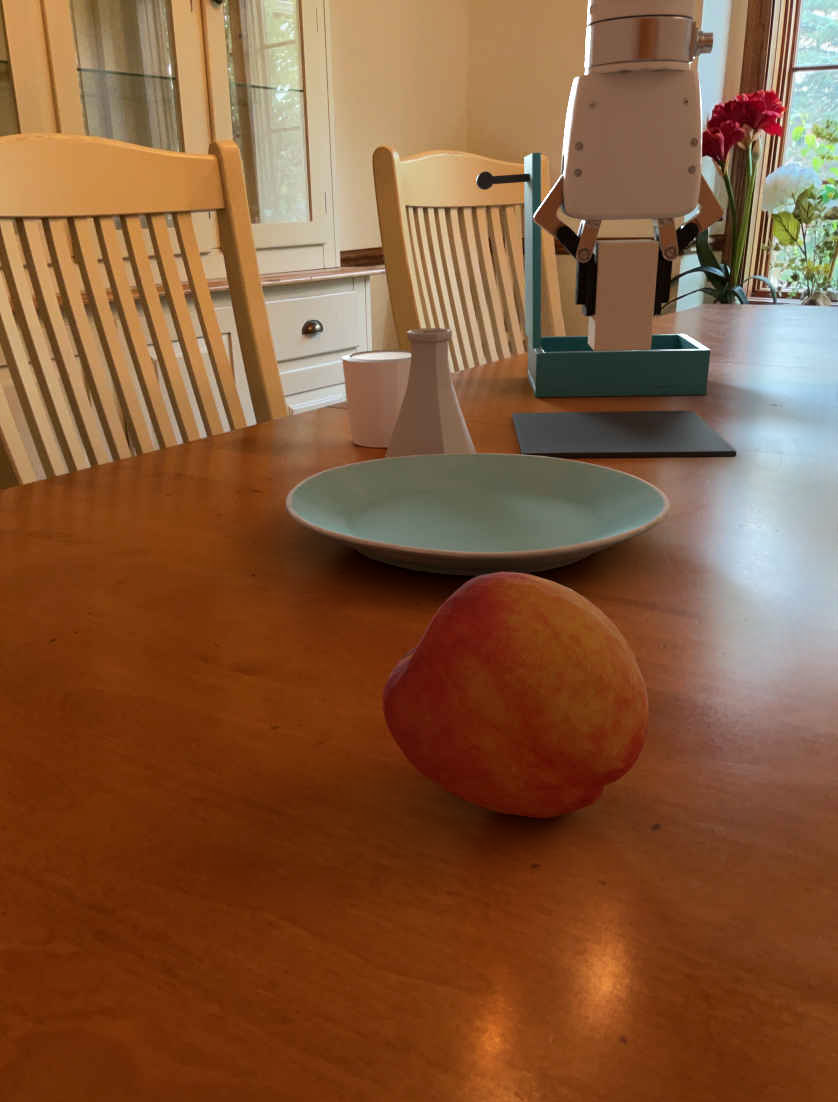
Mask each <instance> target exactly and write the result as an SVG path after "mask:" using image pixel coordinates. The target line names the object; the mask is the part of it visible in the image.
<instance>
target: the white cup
mask: <svg viewBox="0 0 838 1102" xmlns="http://www.w3.org/2000/svg"><path fill="white" fill-rule="evenodd" d="M341 360H342V370H343V378H344V386H345V392H346V393H345V394H346V402H347V410H348V418H349V425H350V433H351V441H352V443H353V444H354V445H357V446H360V447H367V448H379V449H380V448H381V449H382V448H388V446H389V443H390V440H391V437H392V434H393V431H394V428H395V425H396V422H397V419H398V416H399V412H400V409H401V406H402V402H403V399H404V396H405V393H406V389H407V385H408V378H409V372H410V365H411V350H406V349H405V350H404V349H376V350H375V349H374V350H364V351H359V352H354V353H349V354H345V355H342V356H341Z"/></svg>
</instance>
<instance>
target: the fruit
mask: <svg viewBox="0 0 838 1102" xmlns="http://www.w3.org/2000/svg"><path fill="white" fill-rule="evenodd" d="M381 697H382V712H383V715H384V719H385V723H386V726H387V729H388V730H389V732H390V734H391V736H392V739H393V740H394V742H395V744H396V745H397V746H398V748H399V749H400V751H401V752H402V754H403V755H404V757H405V758H406V759H407V761H408V762H409V764H411V765H412V766H413V767H414V768H415V769H416V770H417V771H418V772H419V773H420V774H422V775H423V776H424V777H426V778H427V779H428V780H430V781H431V782H433V783H434V784H436V785H437V786H438V787H441V789H444V790H445V791H447V792H448V793H449V794H451V795H453V796H455V797H457V798H459V799H461V800H463V801H466V802H468V803H470V804H471V805H474V806H477V807H480V808H483V809H485V810H488V811H492V812H495V813H498V814H504V815H505V814H506V815H513V816H519V817H528V818H535V819H547V818H548V819H549V818H556V817H560V816H563V815H566V814H569V813H573V812H576V811H579V810H581V809H584V808H587V807H589V806H592V805H593V804H594V803H595V802H597V800H598V799H599V798H600V797H601V796H602V795H603V792H604V787H605V786H606V785H609V784H612V783H615V782H617V781H618V780H619V779H621V778H622V777H624V776H625V775H626V774H627V773H628V772H629V771H631V770H632V768H633V767H634V765H635V764H636V762H637V761H638V759H639V757H640V755H641V753H642V751H643V748H644V745H645V742H646V738H647V735H648V727H649V711H650V710H649V708H650V705H649V699H648V692H647V686H646V682H645V680H644V676H643V674H642V672H641V669H640V667H639V664H638V662H637V659H636V657H635V654H634V652H633V650H632V649H631V647H630V645H629V643H628V642H627V640H626V637H624V635H623V634H622V633H621V632H620V630H619V629H618V628H617V626H616V625H615V624H614V622H613V621H611V619H609V617H608V616H607V615H606V614H605V613H604V612H603V611H602V610H601V609H600V608H599V607H597V606H596V605H595V604H593V603H592V602H591V601H590V600H589V599H587V598H586V597H584V596H582V594H579V593H578V592H577V591H575V590H574V589H572V588H569V587H567V586H565V585H562V584H560V583H558V582H555V581H553V580H550V579H546V578H543V577H540V576H537V575H533V574H529V573H513V572H497V573H491V574H485V575H480V576H475V577H473V578H471V579H469V580H467V581H466V582H464V583H463V584H462V585H461V586H460V587H458V588H457V589H456V590H455V591H454V592H453V593H452V594H451V595H450V596H449V597H448V598H447V599H446V600H445V601H444V602H443V603H442V604H441V605H440V607H439V608H438V610H437V611H436V613H435V614H434V615H433V617H432V619H431V621H430V622H429V623H428V625H427V627H426V628H425V629H424V632H423V634H422V636H421V638H420V640H419V642H418V643H417V645H416V646H414V647H413V648H412V649H410V650H409V651H408V652H407V653H405V654H404V655H403V656H401V658H400V659H399V660H398V661H397V662H396V664H395V665H394V667H393V668H392V669H391V672H390V674H389V675H388V678H387V680H386V681H385V685H384V688H383V690H382V696H381Z"/></svg>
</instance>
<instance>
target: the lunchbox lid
mask: <svg viewBox="0 0 838 1102" xmlns="http://www.w3.org/2000/svg"><path fill="white" fill-rule="evenodd" d="M516 183H523V184H524V185H523V186H524V187H523V191H524V198H523V199H524V204H523V205H524V207H523V210H524V215H523V217H524V219H523V220H524V333H525V336H526V337H527V339H528V341H529V342H530V344H531V346H532V348H533V349H534V348H541V337H542V228H541V227H540V226H539V225H538V224H536V223H535V222H534V219H533V216H534V214H535V212H536V211H537V210H538V208H539V207H540V205H541V204H542V152H532V153H530V154H528V155H526V156H524V157H523V173H516V174H515V173H514V174H503V175H502V174H501V175H493V174H492V173H491V172H490V171H482V172H480V173H479V174H478V175H477V177H476V179H475V184H476V186H477V188H478V189H480V190H482V191H486V190H489V189H491V188H492V186H493V185H502V184H516Z"/></svg>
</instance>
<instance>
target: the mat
mask: <svg viewBox="0 0 838 1102" xmlns="http://www.w3.org/2000/svg"><path fill="white" fill-rule="evenodd" d="M512 420H513V424H514V429H515V433H516V437H517V441H518V442H517V443H518V446H519V449H520V455H534V456H545V457H553V458H561V459H575V458H576V459H577V458H578V459H579V458H582V459H587V458H590V459H592V458H673V457H674V458H675V457H676V458H677V457H678V458H679V457H680V458H683V457H685V458H687V457H693V458H694V457H736V456H737V450H736V449H735V448H734V447H733V446H732V445H731V444H730V443H729V442H728V441H726V440H725V439H724V438H723V437H722V436H721V435H719V434H718V432H717V431H715V430H714V429H713V428H712V426H711V425H709V424H708V423H707V422H706V421H705V420H703V418H702V417H700V416H699V414H697V413H696V412H695V411H694V410H691V409H690V410H628V411H626V410H625V411H561V412H560V411H556V412H555V411H554V412H548V411H547V412H546V411H545V412H512Z"/></svg>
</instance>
